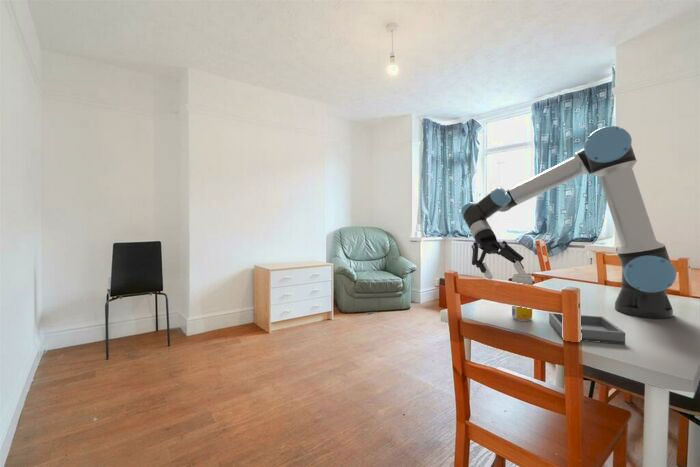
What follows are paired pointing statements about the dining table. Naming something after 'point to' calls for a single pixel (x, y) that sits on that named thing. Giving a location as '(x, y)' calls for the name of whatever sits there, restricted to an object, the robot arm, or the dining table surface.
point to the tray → (592, 328)
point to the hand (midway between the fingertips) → (507, 278)
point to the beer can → (520, 312)
